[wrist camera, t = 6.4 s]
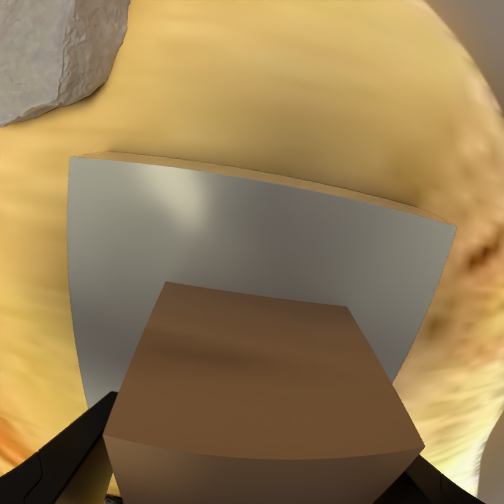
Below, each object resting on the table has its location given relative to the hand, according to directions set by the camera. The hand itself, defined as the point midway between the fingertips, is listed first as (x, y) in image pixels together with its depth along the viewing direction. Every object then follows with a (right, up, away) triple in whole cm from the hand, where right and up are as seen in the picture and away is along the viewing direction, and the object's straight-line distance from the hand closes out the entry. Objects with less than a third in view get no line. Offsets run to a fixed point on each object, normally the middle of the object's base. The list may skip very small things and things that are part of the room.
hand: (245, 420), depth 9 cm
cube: (0, +1, +2) cm, 3 cm away
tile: (0, +2, +5) cm, 6 cm away
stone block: (-10, +15, 0) cm, 19 cm away
